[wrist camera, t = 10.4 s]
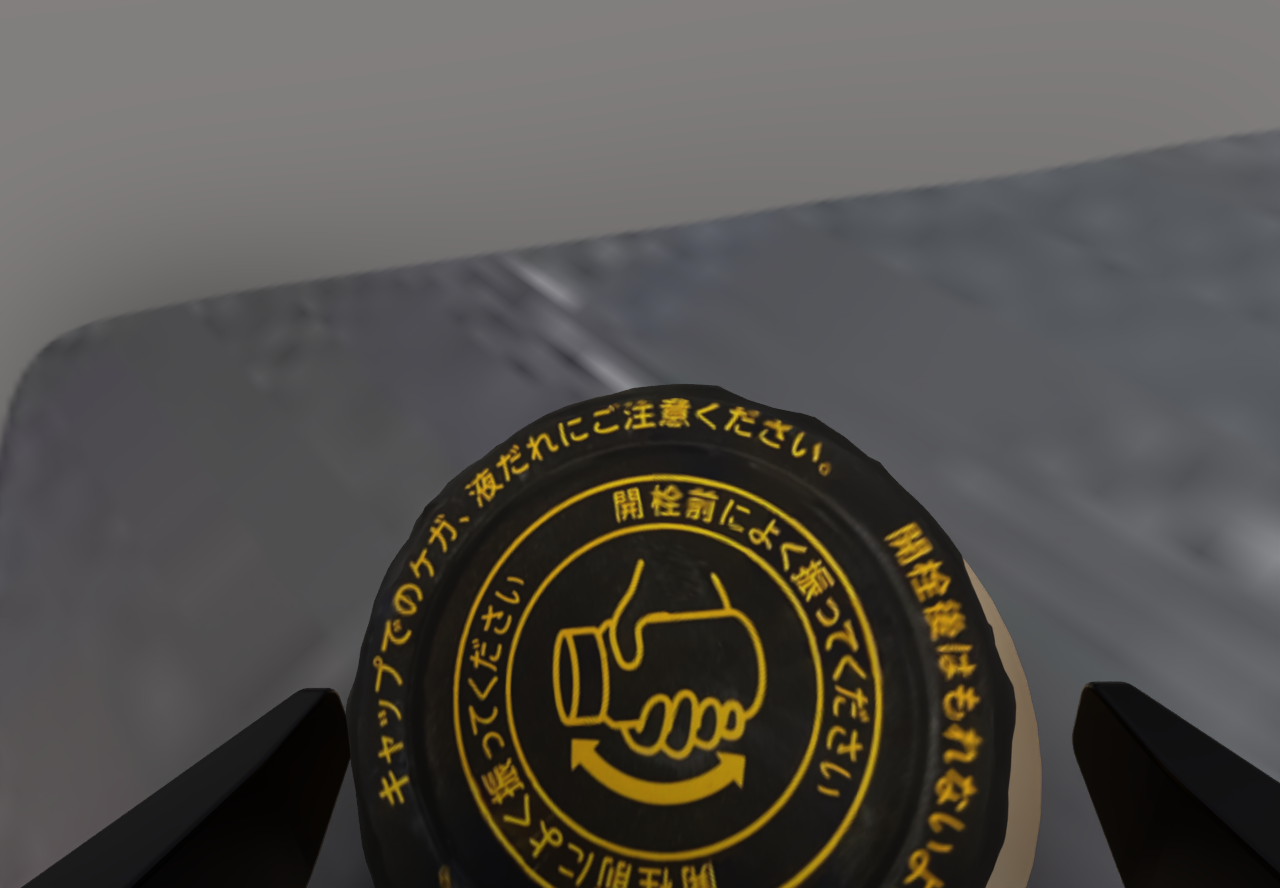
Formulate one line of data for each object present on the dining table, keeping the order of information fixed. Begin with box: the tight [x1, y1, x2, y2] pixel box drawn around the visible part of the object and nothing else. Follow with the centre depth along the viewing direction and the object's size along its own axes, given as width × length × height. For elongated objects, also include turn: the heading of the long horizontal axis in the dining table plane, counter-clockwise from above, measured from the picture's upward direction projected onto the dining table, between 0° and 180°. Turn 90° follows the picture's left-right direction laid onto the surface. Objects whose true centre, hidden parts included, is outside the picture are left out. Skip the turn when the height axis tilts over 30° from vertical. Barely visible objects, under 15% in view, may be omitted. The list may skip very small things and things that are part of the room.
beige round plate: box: [963, 559, 1042, 888], centre depth 17 cm, size 14×14×1 cm
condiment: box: [346, 384, 1016, 888], centre depth 11 cm, size 7×8×12 cm
